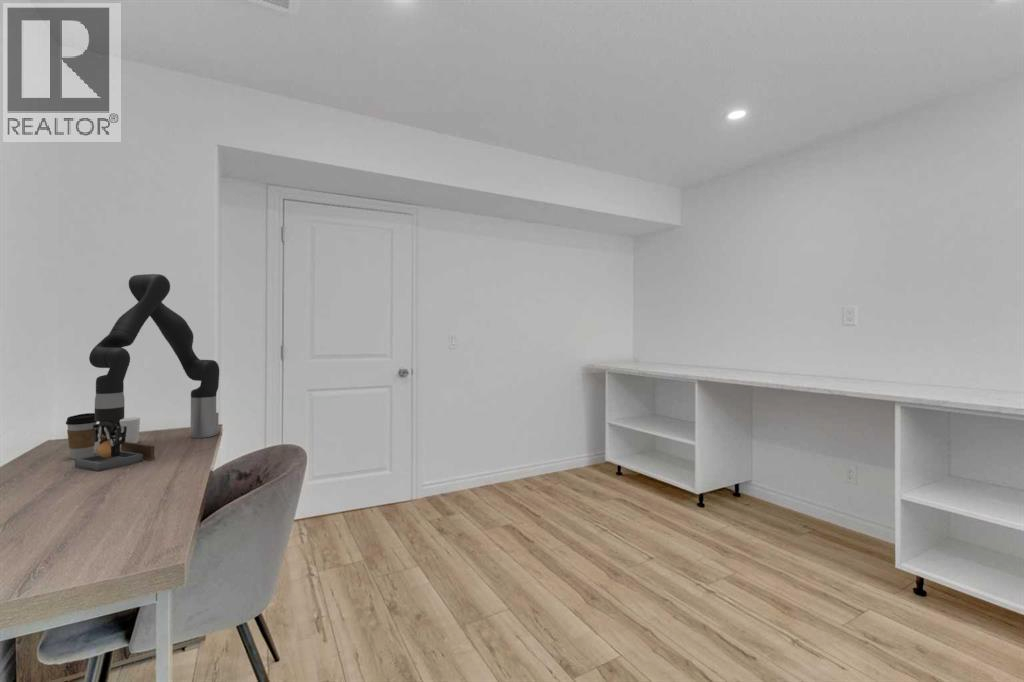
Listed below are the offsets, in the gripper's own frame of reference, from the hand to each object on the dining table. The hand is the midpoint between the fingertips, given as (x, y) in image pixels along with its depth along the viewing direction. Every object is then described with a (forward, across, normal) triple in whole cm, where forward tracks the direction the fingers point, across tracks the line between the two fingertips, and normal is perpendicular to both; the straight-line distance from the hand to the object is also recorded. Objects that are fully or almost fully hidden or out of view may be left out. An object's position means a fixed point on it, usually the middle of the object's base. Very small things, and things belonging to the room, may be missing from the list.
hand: (109, 455), depth 151 cm
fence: (+3, 0, -8) cm, 9 cm away
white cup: (+3, +26, -20) cm, 33 cm away
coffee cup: (+3, +19, -2) cm, 19 cm away
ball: (+1, 0, 0) cm, 1 cm away
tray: (+3, 0, 0) cm, 3 cm away
